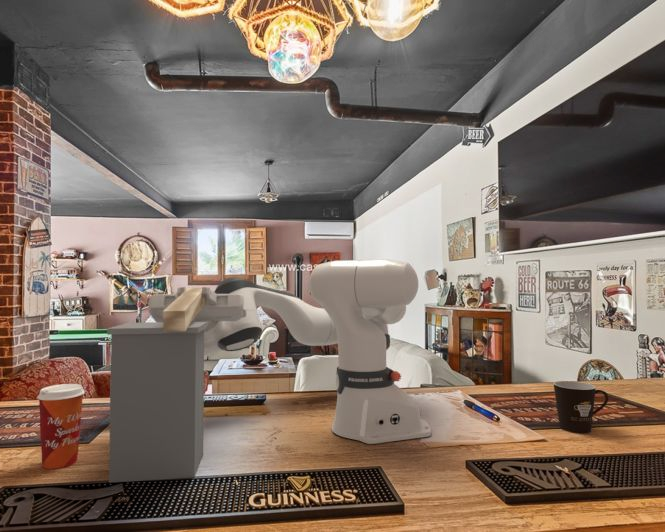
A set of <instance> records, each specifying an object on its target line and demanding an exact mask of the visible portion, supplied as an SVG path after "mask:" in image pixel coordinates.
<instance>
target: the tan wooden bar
mask: <svg viewBox="0 0 665 532" xmlns="http://www.w3.org/2000/svg"><path fill="white" fill-rule="evenodd" d="M204 305H205V298H203V297H202V287H188V288H186V291H185V292H183V293H182V294H181V295H180V296H179V297H178V298H177V299H176V300H175V301H174V302H172V303H171V304H170V305H169V306H168V307H167V308H166V309H165V310H164V311H163V331H164V332H171V331H186V329H187V328H188V327H189V325H190V324H191V323H192V321H193V320H194V318H195V317H196V316H197V314H198V313H199V311H200V310H201V309H202V307H203V306H204Z"/></svg>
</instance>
